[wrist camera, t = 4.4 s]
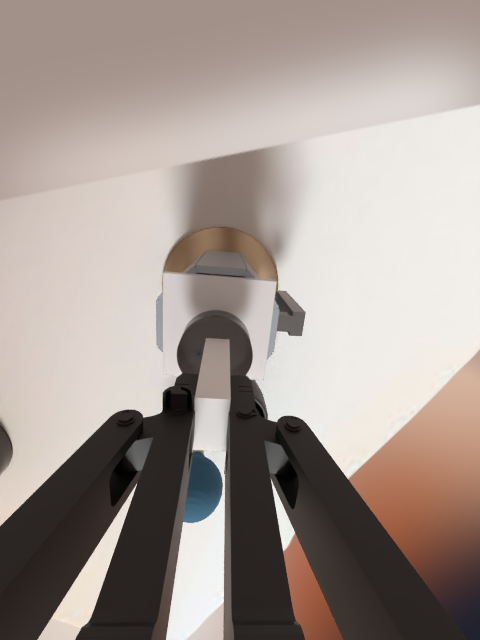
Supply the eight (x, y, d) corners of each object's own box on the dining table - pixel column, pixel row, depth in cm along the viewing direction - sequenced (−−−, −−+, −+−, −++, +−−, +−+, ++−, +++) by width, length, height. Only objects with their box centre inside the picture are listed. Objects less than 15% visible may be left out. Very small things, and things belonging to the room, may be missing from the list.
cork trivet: (163, 336, 41) (162, 338, 41) (162, 222, 36) (161, 221, 36) (270, 343, 42) (270, 344, 42) (284, 232, 37) (285, 233, 37)
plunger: (182, 337, 31) (156, 403, 19) (183, 268, 28) (155, 296, 17) (251, 341, 31) (265, 408, 20) (258, 274, 29) (279, 305, 18)
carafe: (182, 320, 40) (154, 381, 24) (184, 247, 37) (153, 263, 21) (273, 326, 41) (303, 389, 25) (283, 255, 38) (324, 276, 22)
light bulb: (167, 458, 48) (149, 530, 37) (182, 420, 46) (168, 484, 35) (213, 470, 50) (209, 543, 38) (230, 434, 47) (231, 500, 36)
